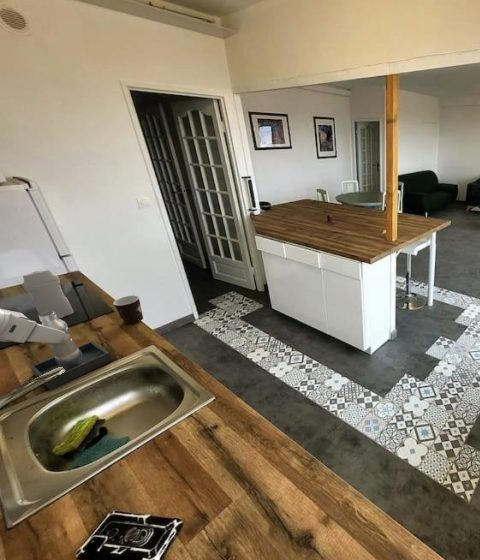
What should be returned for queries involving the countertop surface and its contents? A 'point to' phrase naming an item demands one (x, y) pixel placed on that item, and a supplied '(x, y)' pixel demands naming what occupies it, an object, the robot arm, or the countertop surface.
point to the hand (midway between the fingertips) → (60, 335)
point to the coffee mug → (129, 309)
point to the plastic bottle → (65, 349)
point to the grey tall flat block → (47, 293)
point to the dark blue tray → (91, 360)
